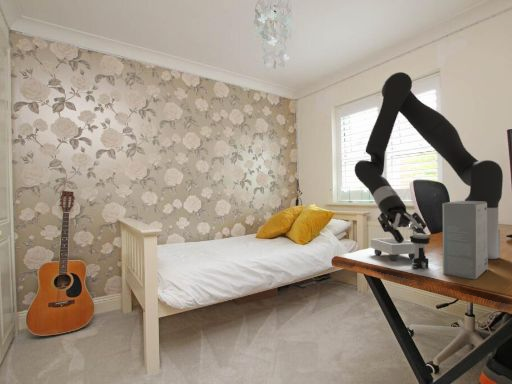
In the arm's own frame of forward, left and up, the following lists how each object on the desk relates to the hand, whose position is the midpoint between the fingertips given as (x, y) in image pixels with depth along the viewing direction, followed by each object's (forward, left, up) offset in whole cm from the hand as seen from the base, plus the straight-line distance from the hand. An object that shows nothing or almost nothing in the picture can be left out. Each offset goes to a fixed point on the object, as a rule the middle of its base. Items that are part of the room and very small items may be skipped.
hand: (413, 241), depth 85 cm
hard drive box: (-10, +8, -8) cm, 15 cm away
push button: (0, +2, -8) cm, 8 cm away
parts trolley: (-2, -11, -8) cm, 13 cm away
